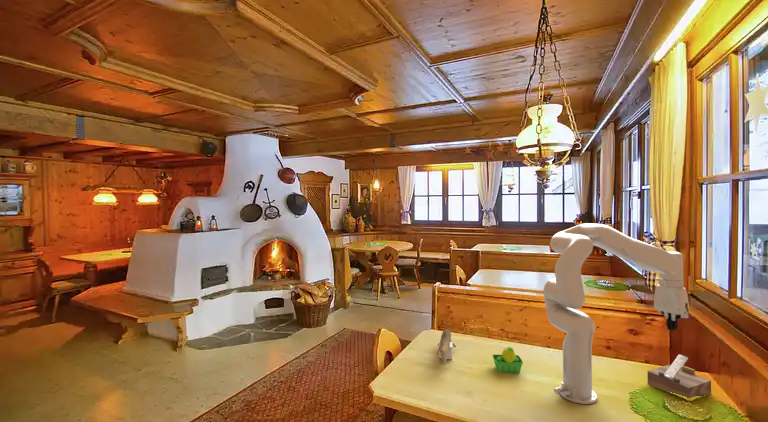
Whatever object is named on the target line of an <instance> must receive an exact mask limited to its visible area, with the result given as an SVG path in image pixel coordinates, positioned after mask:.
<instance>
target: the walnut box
mask: <svg viewBox="0 0 768 422" xmlns="http://www.w3.org/2000/svg"><path fill="white" fill-rule="evenodd" d="M670 366H671V364H666V365H664V366H661V367H657V368H654V369H650V370H648V371H647V385H650V386H652V387H655V388H656V387H657V388H656V389H659V388H660V389H659V390H661V389H663V390H666V391H669V392H672V393H676V394H679V395H682V396H685V397H687V398H692V397H695V396H704V395H707V396H710V395H711V394H712V380H711V379H708V378H706V377H703V376H700V375H698V374H696V369H694V368H691V367H688V366H685V365H683V367H682V368H681V369H680V371H679V372H678V374H677V375H676V377H675V378H674V380H672V379H670V378H667V377H665V376H664V374H665V373H666V371H667V370H668V368H669V367H670ZM663 390H662V391H663ZM709 394H710V395H709ZM704 397H705V396H704Z"/></svg>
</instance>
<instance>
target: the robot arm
mask: <svg viewBox="0 0 768 422" xmlns="http://www.w3.org/2000/svg"><path fill="white" fill-rule="evenodd" d="M594 247H598V248H600V249H602V250H603V251H607V252H608V253H610V254H612V255H614V256H616V257H618V258H620V259H623V260H627V261H631V262H635V264H636V266H637V267H638V268H640V269H641V270H643V271H646V272H647V271H648V272H652V273H657V274H658V277H656V278H655V281H656V282H658V284H656V286H655V292H654V300H653V306H654V307H653V308H655V311H657V312H658V313H660V314H662V315H663V316H664V319H665V320H666V328H667V330H668V331H676V330H677V329H678V320H681V319H688V318H689V317H690V316H689V310H690V304H689V296H688V292H687V289H686V287H684V285H685V284H684V256H683V254H682V252H680V251H674V250H665V249H664V248H661V247H658V246H656V245H652V244H649V243H647V242H644V241H642V240H639V239H636V238H633V237H630V236H628V235H626V234H625V233H623V232H620V231H619V230H617V229H615V228H614V227H611V226H610V225H607V224H603V223H589V222H586V223H581V224H578V225H575V226H572V227H570V228H567V229H564V230H561V231H558V232H557V233H555V234H554V235H553V236H552V237H551V239H550V248H551V249H552V251H553V252H555V253H556V254H557V255H558V254H559V255H560V256H559V257H558V259H557V261H556V262H555V266H554V276H555V277H553V278H550V279H548V280H547V281H546V282H545V284H544V287H543V298H544V304H545V310H546V314H547V317H548V320H549V323H550V324H551V325H552V326H553V327H554V328H557V329H558V330H560V331H562V332H564V333H566V334H565V338H564V340H563V342H562V381H561V383H560V386H558V387H555V388H553V392H554V393H555V395H560V396H561V397H562V398H564V399H565V400H567V401H570V402H572V403H576V404H581V405H591V404H595V403H596V402H597V401H598V395H597V393H596V392H595V391H594V390H593V361H592V360H593V356H592V354H593V353H592V352H593V351H592V345H593V338H594V334H595V327H596V326H595V322H594V320H593V319H592V318H591V316H590V315H588V314H587V313H585V312H583V311H581V310H579V309H581V308H582V307H583V306H584V304H585V301H586V296H585V291H584V285H583V279H582V267H583V264H584V263H585V260H586V259H588V258H589V256H590V255H591V254H592V252H593V249H594Z"/></svg>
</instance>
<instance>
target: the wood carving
mask: <svg viewBox="0 0 768 422" xmlns="http://www.w3.org/2000/svg"><path fill="white" fill-rule="evenodd" d="M441 333H442V334H441V337H440V339H439V342H438V344H437V346H438V356H439V357H438V359H439V358H442V359H441V360H442V362H443V363H444V364H447V360H446V359H452V360H453V358H452V357H453V356H454V355H453V354H454V352H453V351H454V350H453V347H454V348H457V346H456V344H455V343H454V342H453V341H452V333H451V330H449V329H447V328H445V329H444V330H443V331H442V332H441Z"/></svg>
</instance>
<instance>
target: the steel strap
mask: <svg viewBox="0 0 768 422" xmlns="http://www.w3.org/2000/svg"><path fill="white" fill-rule="evenodd" d="M688 359H689V357H688V356H685V355H682V354H678V355H676V358H675V359H673V362H672V363H671V364H670V365H671V366H670V367H669V368H668V370H667V371H666V373H665V374H664V376H665V377H667V378H670V379H672V380H674V378H675V377H676V375H677V374H678V372H679V371H680V369H682V367H683V366H685V364H686V362H687V361H688Z"/></svg>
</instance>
